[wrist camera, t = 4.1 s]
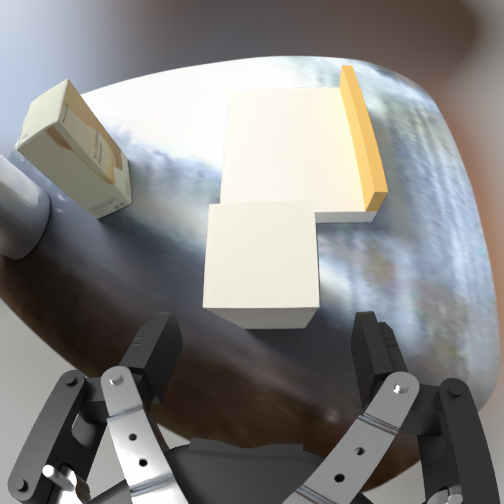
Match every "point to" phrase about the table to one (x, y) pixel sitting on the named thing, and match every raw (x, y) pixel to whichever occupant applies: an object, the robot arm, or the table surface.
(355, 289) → the table surface
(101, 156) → the skincare box
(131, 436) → the robot arm
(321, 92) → the shelf board
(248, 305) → the product carton
